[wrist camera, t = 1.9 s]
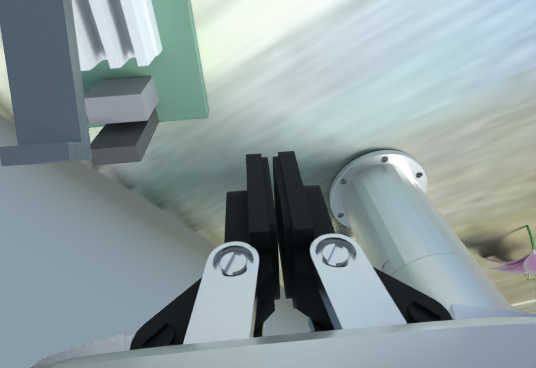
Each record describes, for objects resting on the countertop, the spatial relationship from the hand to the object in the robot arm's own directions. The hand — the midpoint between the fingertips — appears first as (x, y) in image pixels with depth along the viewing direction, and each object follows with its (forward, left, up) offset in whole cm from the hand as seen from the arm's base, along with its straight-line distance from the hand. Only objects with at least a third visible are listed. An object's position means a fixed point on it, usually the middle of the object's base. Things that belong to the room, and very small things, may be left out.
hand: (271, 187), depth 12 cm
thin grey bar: (+5, +12, -14) cm, 19 cm away
